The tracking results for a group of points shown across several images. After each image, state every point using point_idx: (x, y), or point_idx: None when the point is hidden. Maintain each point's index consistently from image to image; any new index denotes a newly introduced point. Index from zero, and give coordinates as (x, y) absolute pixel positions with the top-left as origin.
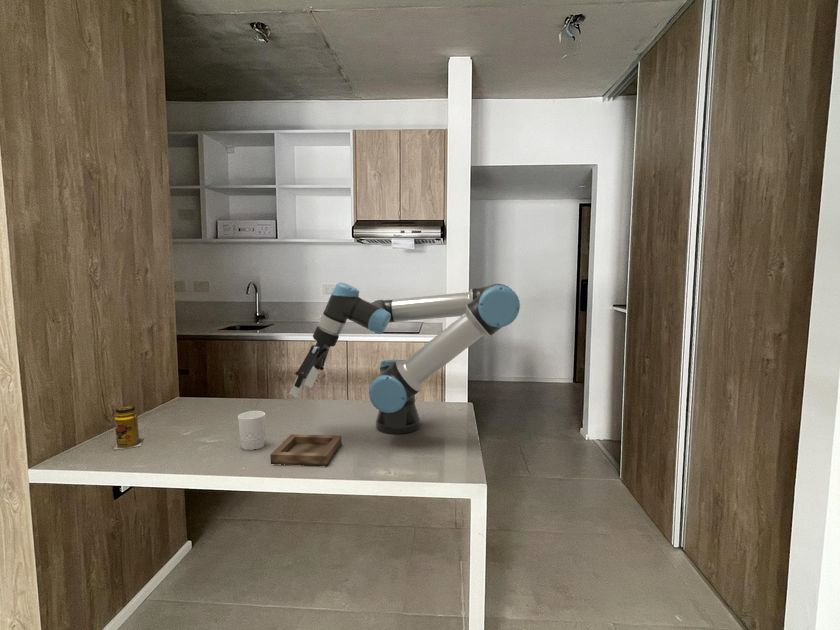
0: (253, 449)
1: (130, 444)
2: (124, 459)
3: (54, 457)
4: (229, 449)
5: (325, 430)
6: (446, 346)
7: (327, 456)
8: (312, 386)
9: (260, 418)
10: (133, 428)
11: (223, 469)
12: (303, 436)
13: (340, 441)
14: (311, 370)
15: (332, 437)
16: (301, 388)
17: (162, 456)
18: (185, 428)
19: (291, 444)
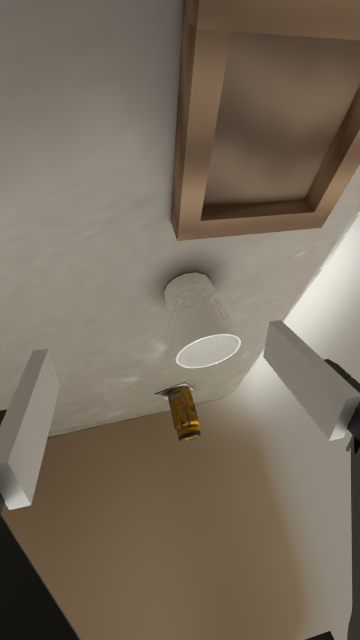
0: (210, 280)
1: (187, 388)
2: (223, 371)
3: (209, 400)
4: None
5: (3, 146)
6: None
7: None
8: (37, 355)
9: (227, 330)
10: (188, 407)
11: (293, 279)
12: (199, 194)
13: None
14: (36, 472)
15: (224, 38)
16: (309, 350)
17: None
18: (112, 389)
19: (227, 210)
